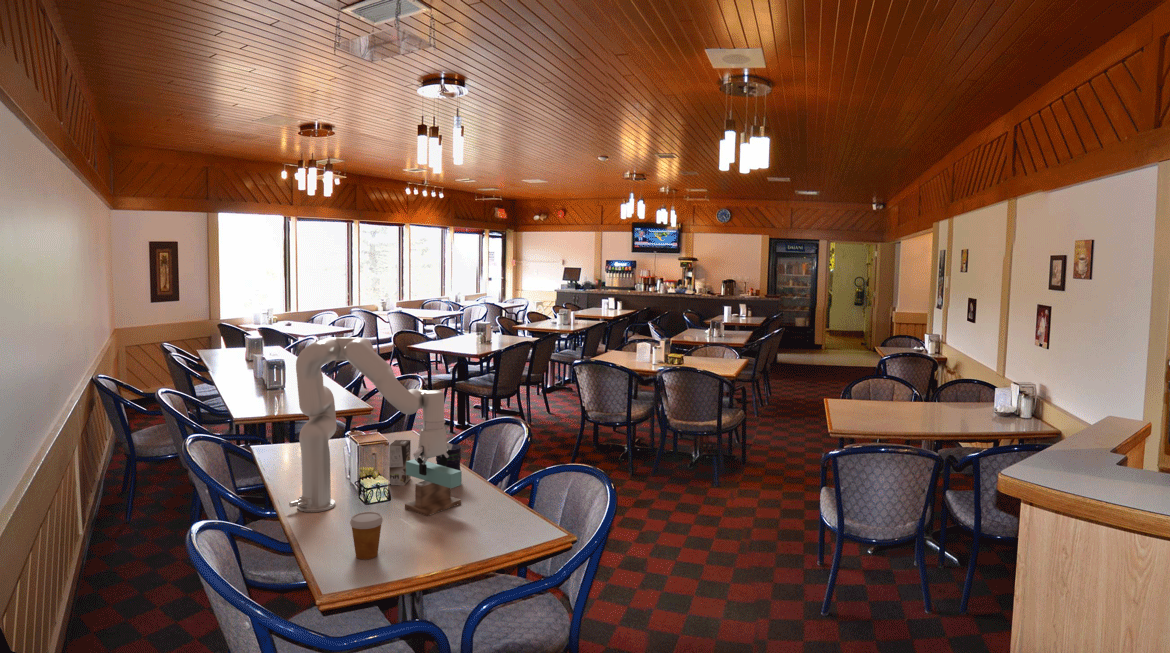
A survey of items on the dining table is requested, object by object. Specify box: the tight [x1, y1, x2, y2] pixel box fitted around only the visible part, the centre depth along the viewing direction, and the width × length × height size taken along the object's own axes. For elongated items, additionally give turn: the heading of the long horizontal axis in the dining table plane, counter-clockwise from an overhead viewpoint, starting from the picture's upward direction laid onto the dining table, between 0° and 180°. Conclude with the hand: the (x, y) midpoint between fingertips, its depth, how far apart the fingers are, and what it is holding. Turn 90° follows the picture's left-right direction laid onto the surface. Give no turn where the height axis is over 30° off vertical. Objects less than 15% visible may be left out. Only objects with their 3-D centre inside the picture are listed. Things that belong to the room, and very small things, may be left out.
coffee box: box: [388, 439, 412, 486], centre depth 279 cm, size 9×6×16 cm
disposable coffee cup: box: [349, 511, 384, 561], centre depth 210 cm, size 10×10×12 cm
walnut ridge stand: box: [404, 480, 462, 517], centre depth 253 cm, size 16×12×10 cm
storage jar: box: [435, 443, 462, 471], centre depth 279 cm, size 10×10×15 cm
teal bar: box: [406, 458, 463, 489], centre depth 253 cm, size 24×5×5 cm, turn 53°
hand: (433, 471), depth 252 cm, fingers open, 9 cm apart
